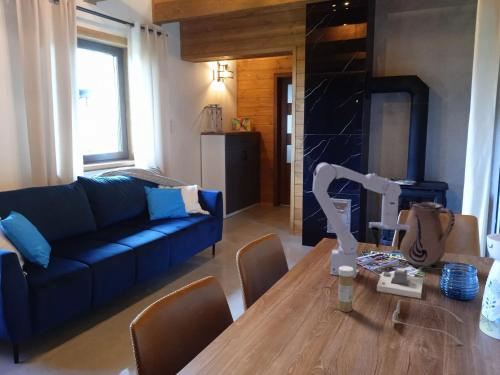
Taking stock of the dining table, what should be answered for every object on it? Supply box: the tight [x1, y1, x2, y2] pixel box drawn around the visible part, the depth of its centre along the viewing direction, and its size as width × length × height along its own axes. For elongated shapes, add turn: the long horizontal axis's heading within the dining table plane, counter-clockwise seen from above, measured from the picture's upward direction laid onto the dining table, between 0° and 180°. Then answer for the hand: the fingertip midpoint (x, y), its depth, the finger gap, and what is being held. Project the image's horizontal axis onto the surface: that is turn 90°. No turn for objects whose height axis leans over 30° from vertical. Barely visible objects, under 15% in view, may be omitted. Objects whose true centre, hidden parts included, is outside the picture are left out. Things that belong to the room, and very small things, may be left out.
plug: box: [393, 267, 408, 286], centre depth 138 cm, size 4×4×7 cm
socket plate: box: [376, 271, 424, 299], centre depth 139 cm, size 14×14×3 cm
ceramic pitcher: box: [399, 201, 456, 267], centre depth 160 cm, size 18×21×25 cm
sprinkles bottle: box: [337, 266, 354, 313], centre depth 122 cm, size 5×5×14 cm
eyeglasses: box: [391, 299, 464, 346], centre depth 112 cm, size 15×18×4 cm
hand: (388, 247), depth 150 cm, fingers open, 7 cm apart
